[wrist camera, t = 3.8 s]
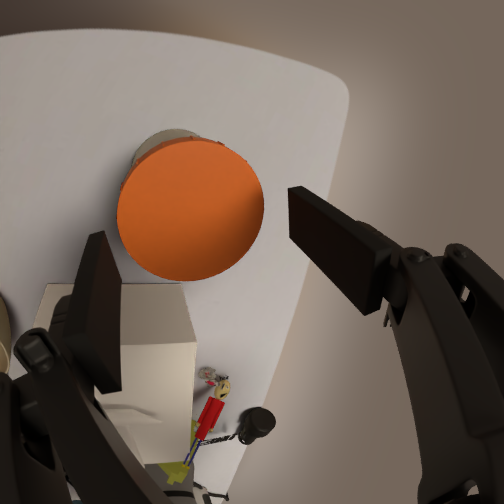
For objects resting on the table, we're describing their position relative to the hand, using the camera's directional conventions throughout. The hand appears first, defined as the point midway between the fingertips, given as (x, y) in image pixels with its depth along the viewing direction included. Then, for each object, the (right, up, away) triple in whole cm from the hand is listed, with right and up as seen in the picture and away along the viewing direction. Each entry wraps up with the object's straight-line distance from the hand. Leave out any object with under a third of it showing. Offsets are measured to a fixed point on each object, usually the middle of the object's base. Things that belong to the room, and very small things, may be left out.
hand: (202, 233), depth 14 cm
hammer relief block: (-14, -15, +19) cm, 28 cm away
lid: (-1, +1, +2) cm, 3 cm away
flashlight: (-2, -36, +35) cm, 51 cm away
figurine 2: (-8, -31, +21) cm, 39 cm away
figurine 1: (-3, -17, +25) cm, 30 cm away
